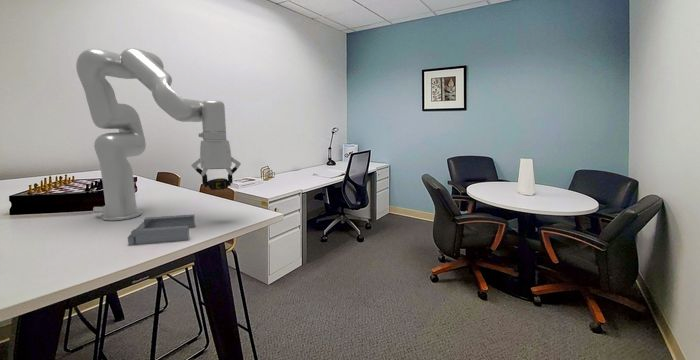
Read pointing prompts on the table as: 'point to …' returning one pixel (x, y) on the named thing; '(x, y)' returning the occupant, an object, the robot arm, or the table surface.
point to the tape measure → (218, 184)
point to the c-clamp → (162, 229)
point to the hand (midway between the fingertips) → (218, 185)
